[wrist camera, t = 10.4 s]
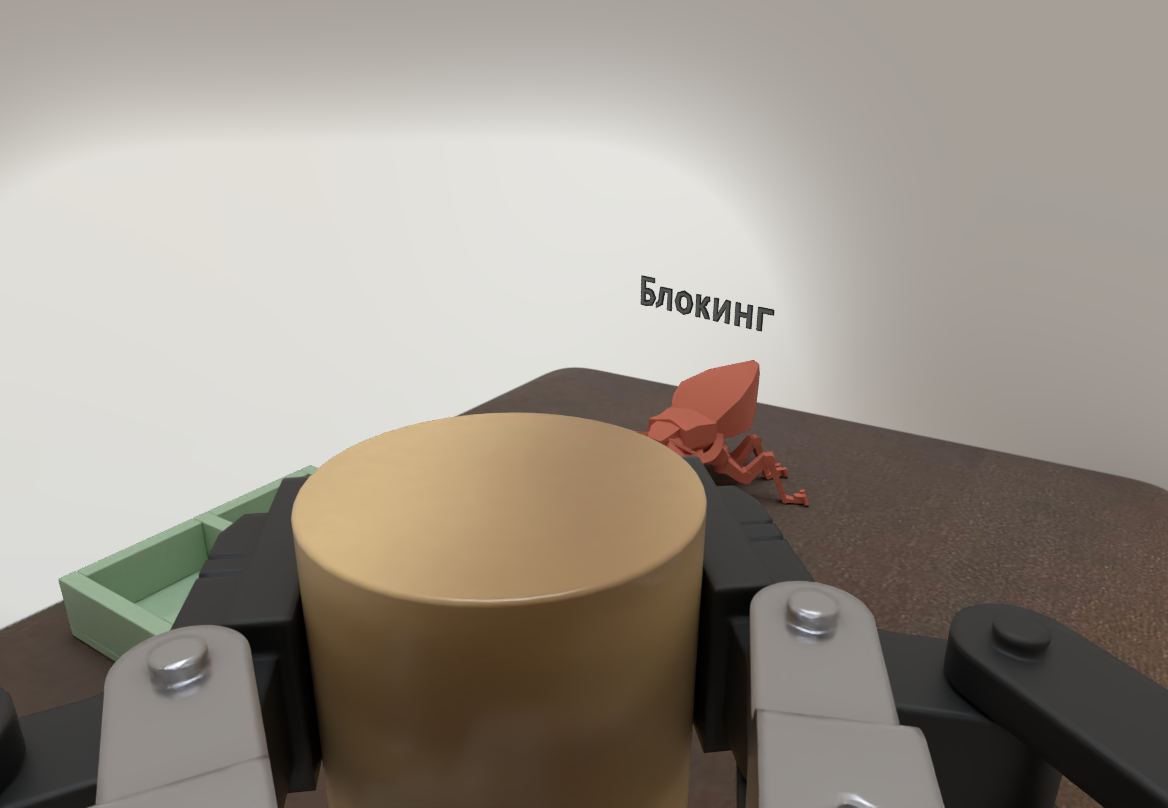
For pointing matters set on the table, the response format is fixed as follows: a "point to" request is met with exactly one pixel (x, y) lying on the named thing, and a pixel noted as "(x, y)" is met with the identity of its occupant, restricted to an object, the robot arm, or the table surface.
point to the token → (503, 615)
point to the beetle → (717, 405)
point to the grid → (151, 577)
